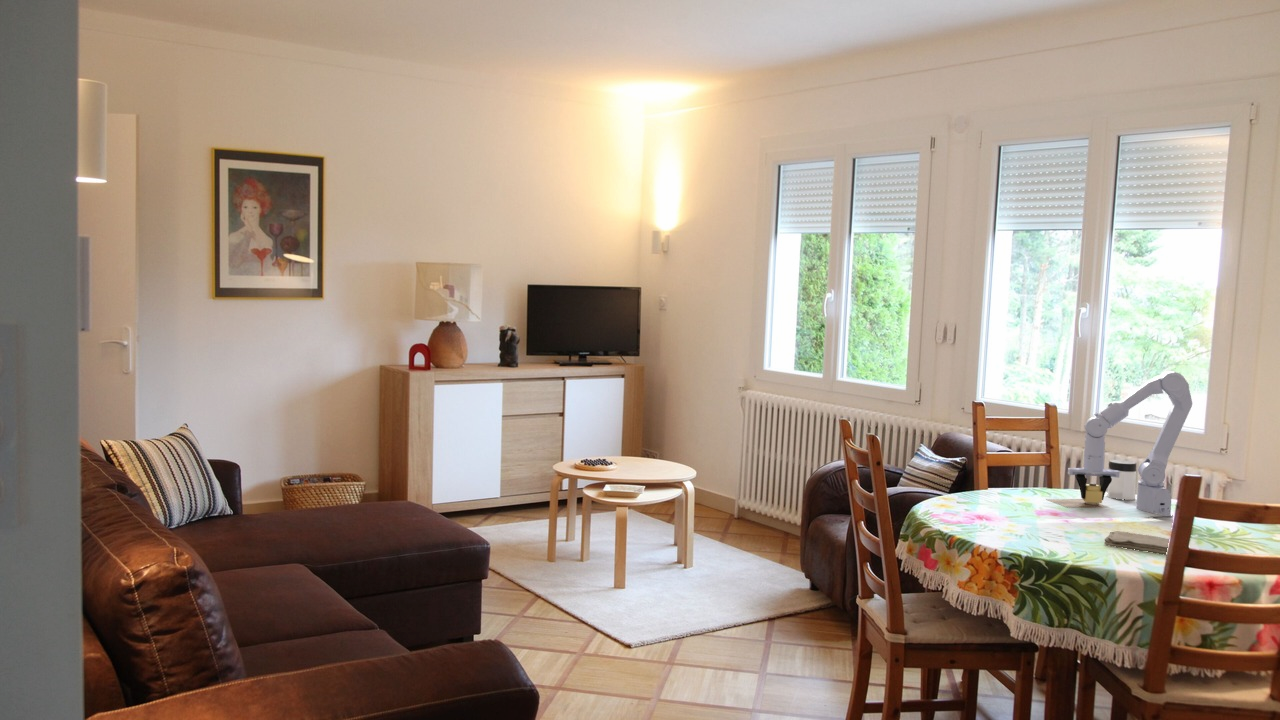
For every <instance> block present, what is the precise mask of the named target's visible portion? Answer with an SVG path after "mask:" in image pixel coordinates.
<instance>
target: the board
mask: <svg viewBox="0 0 1280 720" xmlns="http://www.w3.org/2000/svg"><path fill="white" fill-rule="evenodd" d="M1045 500H1046V501H1049V502H1050V503H1053V504H1057V505H1058V506H1060V507H1061V506H1062V507H1065V508H1068V509H1083V508H1085V509H1087V508H1088V509H1089V508H1091V509H1093V508H1109V506H1107V505H1104V504H1103V503H1099V505H1097V506H1094V505H1087V504H1085V501H1084V500H1082V498H1068V499H1067V498H1063V499H1062V498H1060V499H1059V498H1058V499H1057V498H1056V499H1055V498H1054V499H1048V498H1047V499H1045Z"/></svg>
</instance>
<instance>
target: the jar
mask: <svg viewBox="0 0 1280 720" xmlns="http://www.w3.org/2000/svg"><path fill="white" fill-rule="evenodd" d="M1107 470H1118V471H1119V478H1117V477H1111V478H1112V481H1111V483H1110V484H1109V486H1108V488H1107V490H1106V491H1107V493H1108V494H1107V493H1106V495H1107V497H1108V498H1109V497H1111V498H1110V499H1113V498H1117V499H1116V500H1119V499H1125V500H1124V501H1135V500H1136V489H1137V488H1136V487H1137V462H1135V461H1131V460H1125V459H1110V460H1109V461H1108V469H1107Z"/></svg>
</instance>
